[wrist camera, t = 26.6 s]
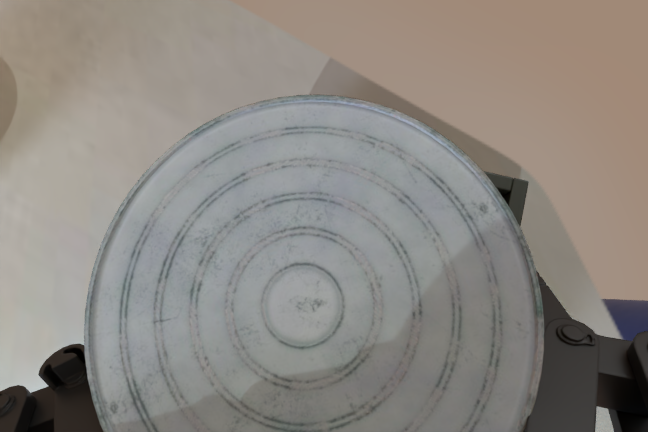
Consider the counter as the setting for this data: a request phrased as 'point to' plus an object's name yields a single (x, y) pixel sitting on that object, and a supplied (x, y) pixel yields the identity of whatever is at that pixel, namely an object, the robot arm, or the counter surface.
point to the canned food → (314, 282)
